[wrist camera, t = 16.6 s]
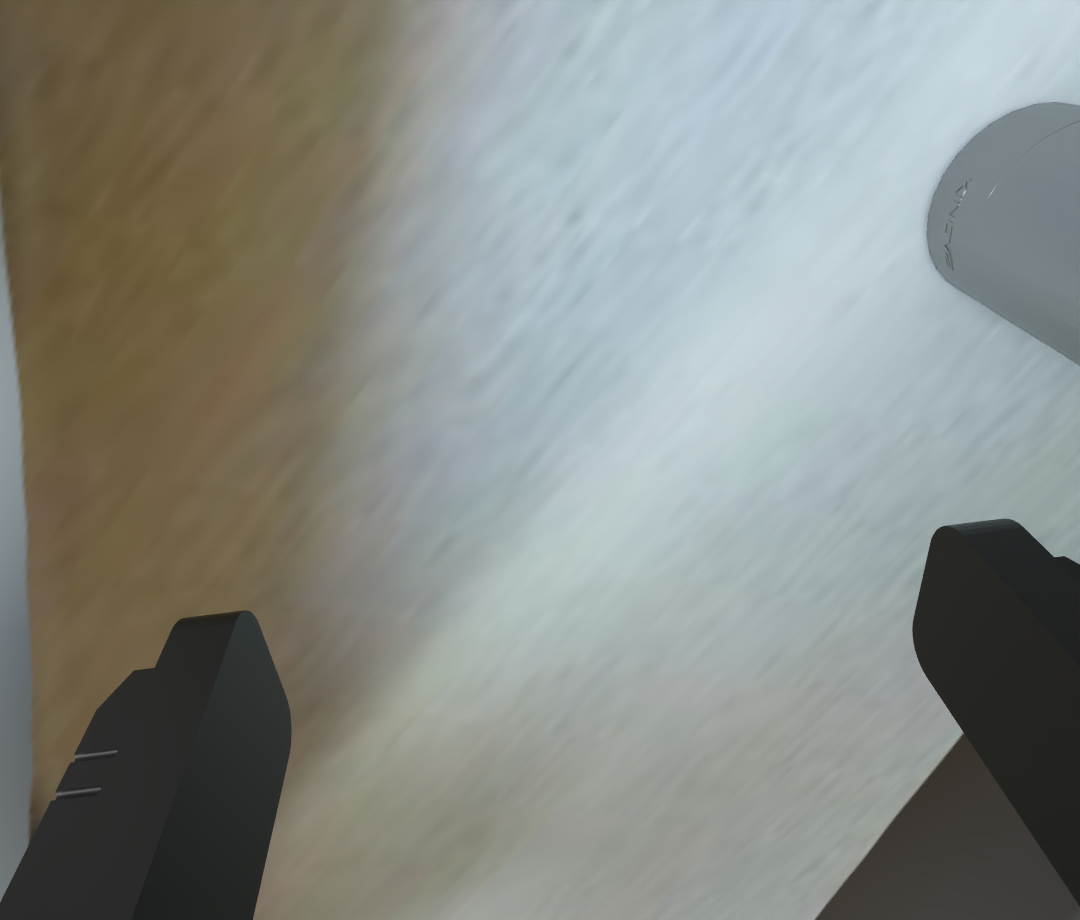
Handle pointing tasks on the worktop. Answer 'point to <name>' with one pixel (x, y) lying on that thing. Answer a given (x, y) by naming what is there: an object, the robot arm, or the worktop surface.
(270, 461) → the worktop surface
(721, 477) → the worktop surface
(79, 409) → the worktop surface
